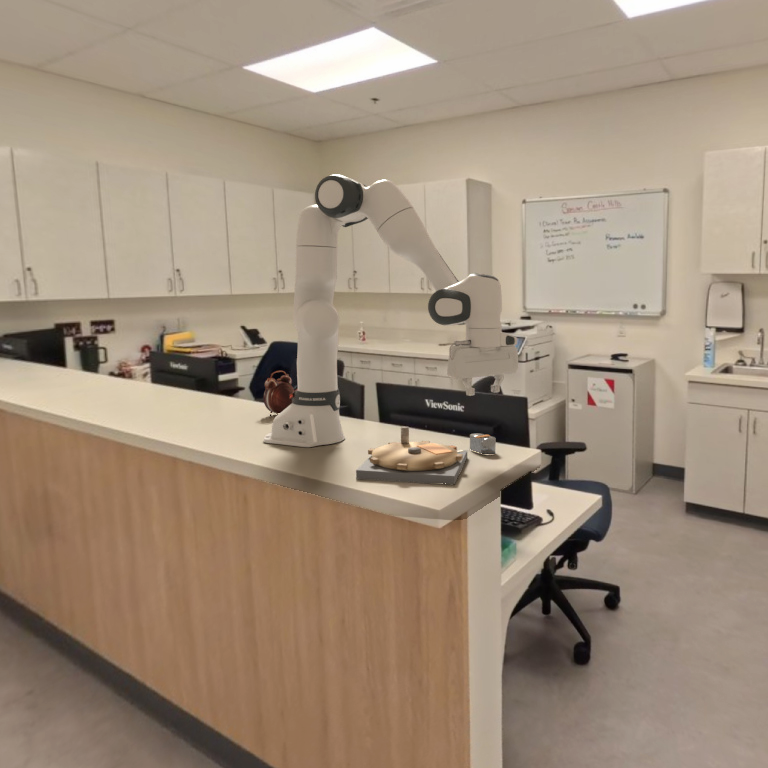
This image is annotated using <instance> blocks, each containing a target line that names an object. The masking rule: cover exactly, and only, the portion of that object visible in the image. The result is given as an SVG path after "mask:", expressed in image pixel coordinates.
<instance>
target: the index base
mask: <svg viewBox="0 0 768 768" xmlns="http://www.w3.org/2000/svg"><path fill="white" fill-rule="evenodd" d="M457 454H463V459H462V460H461V461H457V462H456V463H454V464H453V465H450V466H448V467H444V468H440V469H434V470H423V471H407V470H396V469H390V468H385V467H382V466H379V465H377V464H373V463H371V462H370V458H372V455H370V456H369V457H368V458H367V459H366V460H365V461H364V462H363V463H362V464H361V465H360V466H359V467H358V468H357V469H356V470H355V475H356V480H371V481H385V482H398V483H399V482H402V483H417V484H429V483H443V484H442V485H444V484H445V483H446V484H455V485H456V483H457V481H456V479H457V477H458V475H459V473H460V474H461V472H462V470H463V468H464V466H465V464H466V462H467V460H466V459H468V450H467V449H457ZM465 461H466V462H465ZM464 463H465V464H464ZM463 465H464V466H463ZM462 467H463V468H462ZM461 469H462V470H461ZM460 471H461V472H460ZM459 476H460V475H459ZM458 478H459V477H458ZM457 480H458V479H457ZM455 482H456V483H455Z"/></svg>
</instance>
